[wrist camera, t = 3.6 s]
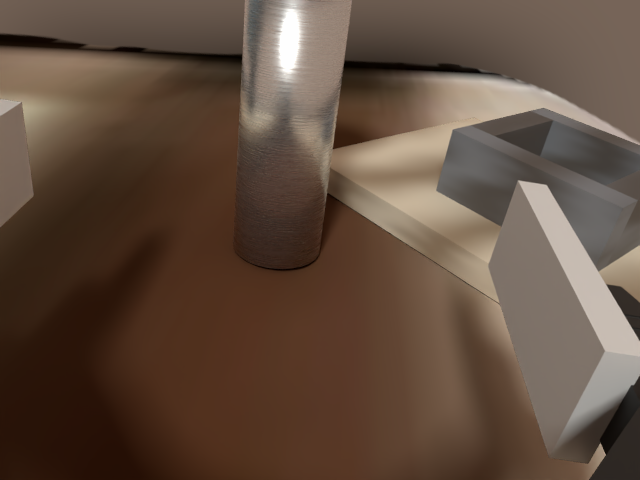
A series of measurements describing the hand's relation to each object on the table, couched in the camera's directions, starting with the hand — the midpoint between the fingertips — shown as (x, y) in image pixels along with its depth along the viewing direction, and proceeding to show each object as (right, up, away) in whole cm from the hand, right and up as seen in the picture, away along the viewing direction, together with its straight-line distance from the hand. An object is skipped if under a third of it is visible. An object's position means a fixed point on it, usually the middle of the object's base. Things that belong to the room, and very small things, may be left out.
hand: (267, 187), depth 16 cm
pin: (-1, -2, +12) cm, 12 cm away
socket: (+14, -1, +17) cm, 22 cm away
